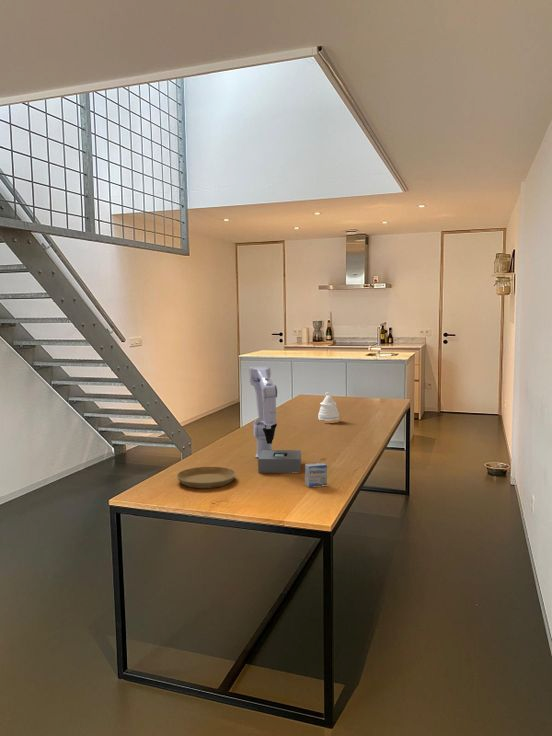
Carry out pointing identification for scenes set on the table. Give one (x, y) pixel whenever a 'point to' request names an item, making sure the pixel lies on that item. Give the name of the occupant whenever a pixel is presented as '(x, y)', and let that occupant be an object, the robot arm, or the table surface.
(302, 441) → the table surface
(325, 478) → the medicine box
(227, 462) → the table surface
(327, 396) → the honey pot
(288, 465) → the gray slotted box
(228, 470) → the plant saucer
